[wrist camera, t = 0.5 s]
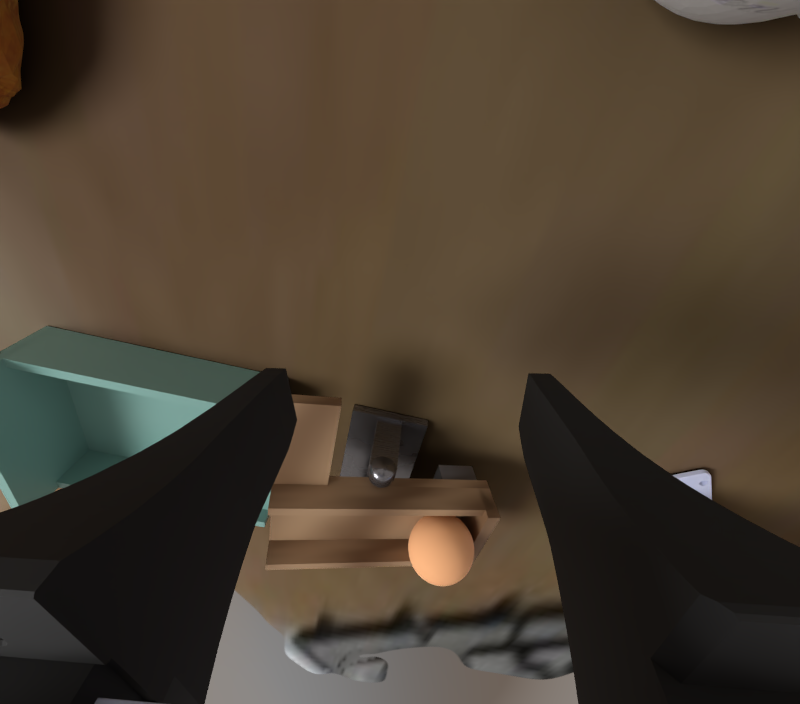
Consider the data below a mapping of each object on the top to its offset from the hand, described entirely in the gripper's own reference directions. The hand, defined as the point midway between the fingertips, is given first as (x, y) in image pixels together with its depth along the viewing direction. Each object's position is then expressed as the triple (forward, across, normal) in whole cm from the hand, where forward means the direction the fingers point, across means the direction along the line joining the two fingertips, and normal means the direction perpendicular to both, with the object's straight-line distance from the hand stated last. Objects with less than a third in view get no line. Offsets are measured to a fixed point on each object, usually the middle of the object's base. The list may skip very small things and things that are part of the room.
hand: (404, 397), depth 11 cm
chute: (+8, +2, +11) cm, 14 cm away
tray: (+10, +17, +11) cm, 23 cm away
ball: (+4, -2, +15) cm, 16 cm away
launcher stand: (+10, +3, +14) cm, 18 cm away
